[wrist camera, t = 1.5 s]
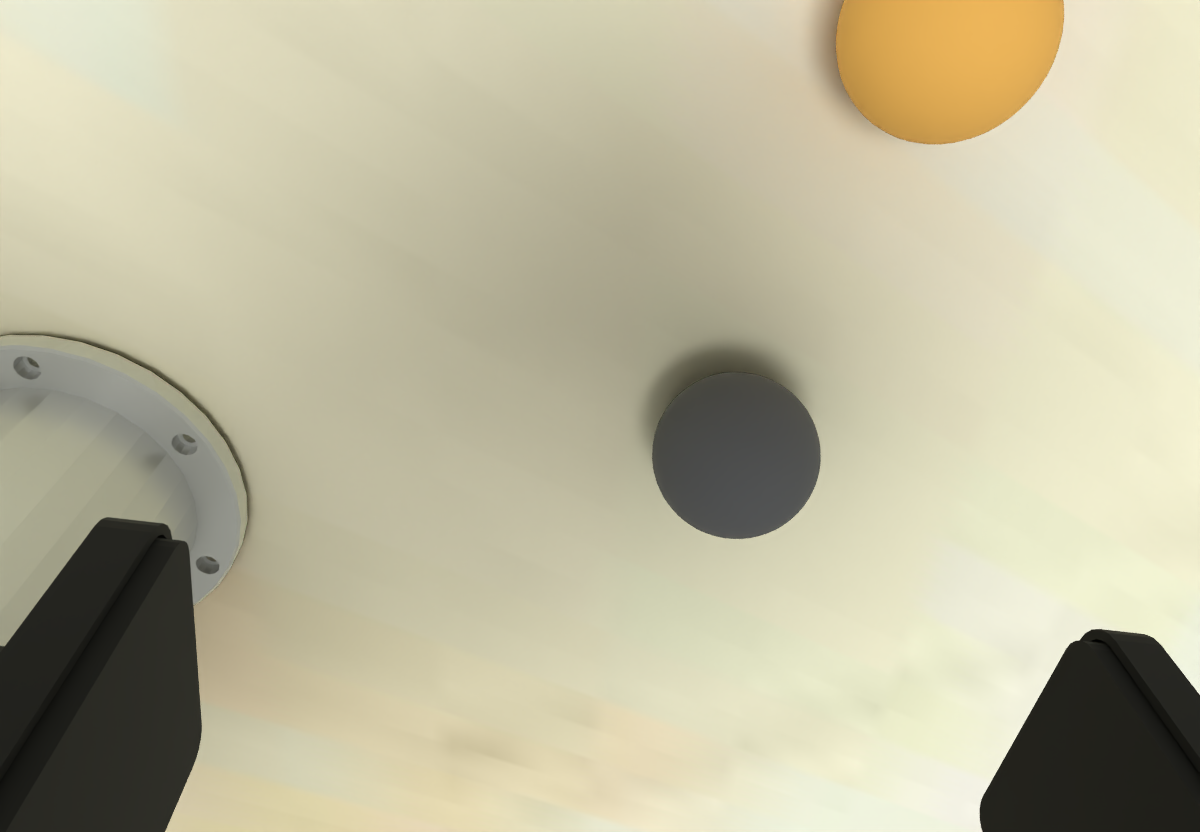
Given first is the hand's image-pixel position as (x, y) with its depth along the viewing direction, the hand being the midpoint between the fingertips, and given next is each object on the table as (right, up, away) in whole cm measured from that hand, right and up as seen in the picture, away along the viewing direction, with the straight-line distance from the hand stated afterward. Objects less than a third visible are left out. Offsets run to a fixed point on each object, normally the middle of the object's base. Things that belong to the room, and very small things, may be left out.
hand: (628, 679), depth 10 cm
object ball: (+9, +13, +14) cm, 21 cm away
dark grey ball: (+4, +2, +21) cm, 22 cm away
